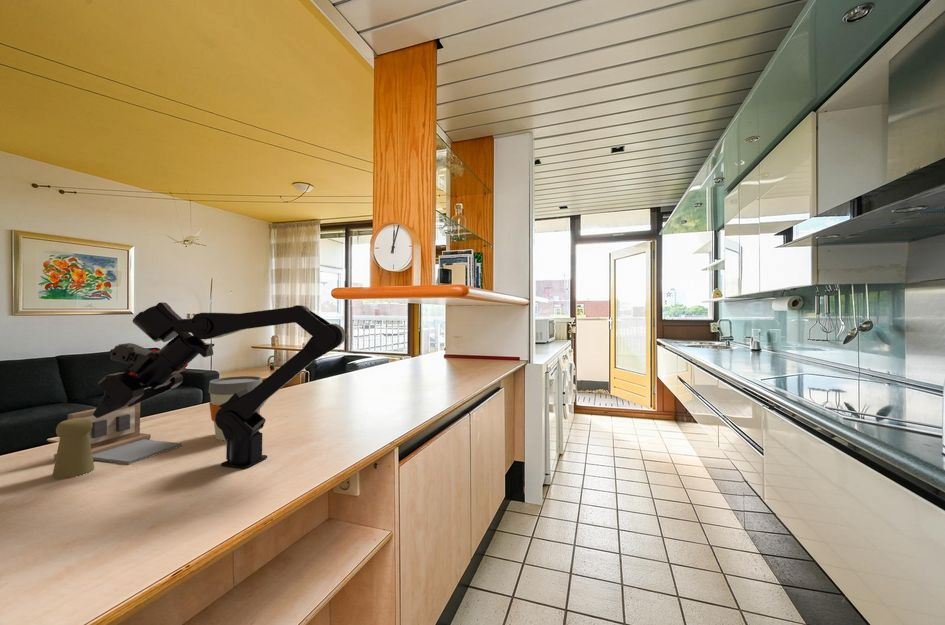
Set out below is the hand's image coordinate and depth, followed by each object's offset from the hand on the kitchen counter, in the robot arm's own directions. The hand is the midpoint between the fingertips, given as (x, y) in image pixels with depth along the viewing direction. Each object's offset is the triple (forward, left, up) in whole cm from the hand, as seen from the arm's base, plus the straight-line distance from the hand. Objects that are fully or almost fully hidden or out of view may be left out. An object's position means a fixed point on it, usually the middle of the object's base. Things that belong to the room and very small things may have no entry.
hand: (112, 410), depth 79 cm
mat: (+6, -9, -12) cm, 17 cm away
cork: (+6, +3, -13) cm, 14 cm away
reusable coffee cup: (-6, -25, -13) cm, 29 cm away
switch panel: (+16, -9, -12) cm, 22 cm away
